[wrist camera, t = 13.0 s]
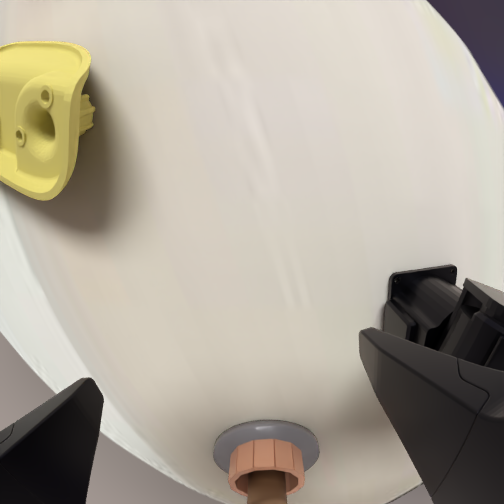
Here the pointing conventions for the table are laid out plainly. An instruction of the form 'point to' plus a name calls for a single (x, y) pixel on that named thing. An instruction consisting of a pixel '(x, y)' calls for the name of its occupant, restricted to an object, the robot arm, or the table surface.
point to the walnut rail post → (267, 487)
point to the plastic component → (42, 114)
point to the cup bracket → (266, 452)
